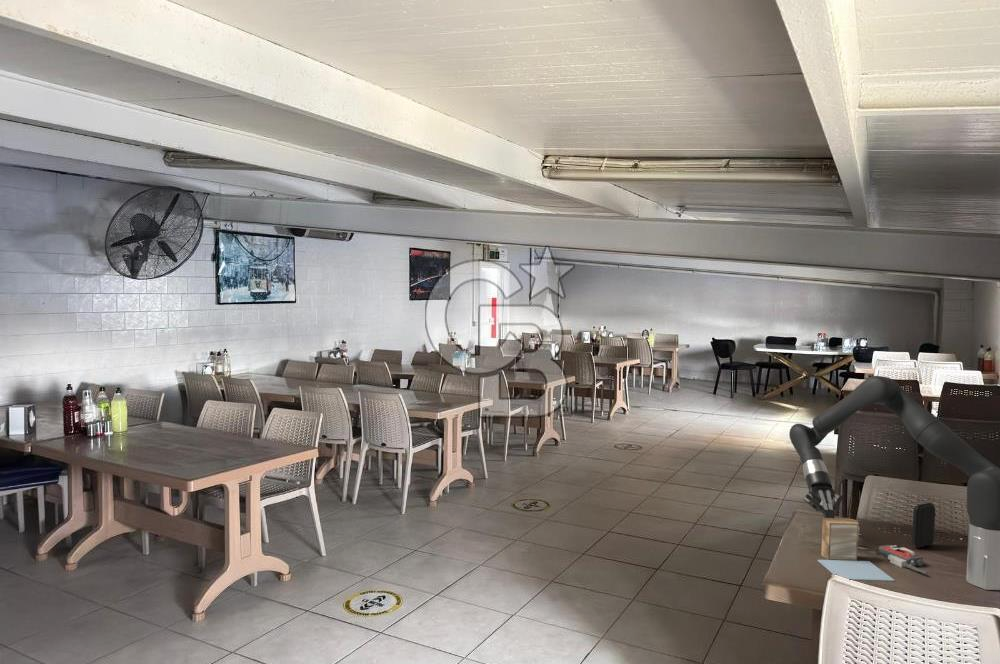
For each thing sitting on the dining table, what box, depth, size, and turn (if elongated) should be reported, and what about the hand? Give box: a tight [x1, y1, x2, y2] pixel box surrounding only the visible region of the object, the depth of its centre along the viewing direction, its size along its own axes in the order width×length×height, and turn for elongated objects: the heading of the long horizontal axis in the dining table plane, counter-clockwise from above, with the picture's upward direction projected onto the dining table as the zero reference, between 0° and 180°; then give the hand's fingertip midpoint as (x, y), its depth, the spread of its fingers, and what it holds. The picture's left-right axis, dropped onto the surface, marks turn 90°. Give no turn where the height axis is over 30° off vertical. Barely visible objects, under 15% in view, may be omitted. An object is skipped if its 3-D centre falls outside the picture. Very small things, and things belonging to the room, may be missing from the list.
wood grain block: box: [820, 517, 860, 561], centre depth 224 cm, size 5×9×12 cm, turn 89°
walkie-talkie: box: [874, 544, 928, 576], centre depth 220 cm, size 9×4×20 cm
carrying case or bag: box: [911, 502, 936, 549], centre depth 236 cm, size 11×3×15 cm, turn 118°
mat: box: [817, 559, 896, 582], centre depth 213 cm, size 15×16×1 cm
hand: (831, 522), depth 230 cm, fingers closed
